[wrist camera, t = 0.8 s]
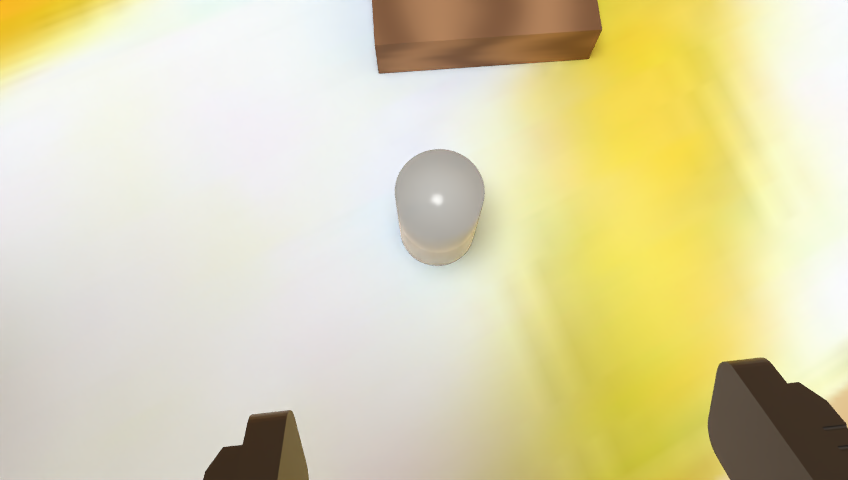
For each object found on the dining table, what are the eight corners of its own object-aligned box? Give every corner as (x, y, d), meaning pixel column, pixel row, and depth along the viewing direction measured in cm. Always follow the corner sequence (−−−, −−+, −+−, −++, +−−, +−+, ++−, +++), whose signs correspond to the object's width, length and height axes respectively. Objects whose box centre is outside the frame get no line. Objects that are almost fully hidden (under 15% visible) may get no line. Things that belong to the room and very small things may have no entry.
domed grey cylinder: (402, 268, 40) (397, 237, 33) (397, 197, 41) (392, 152, 34) (477, 262, 40) (488, 231, 33) (470, 191, 42) (480, 146, 34)
